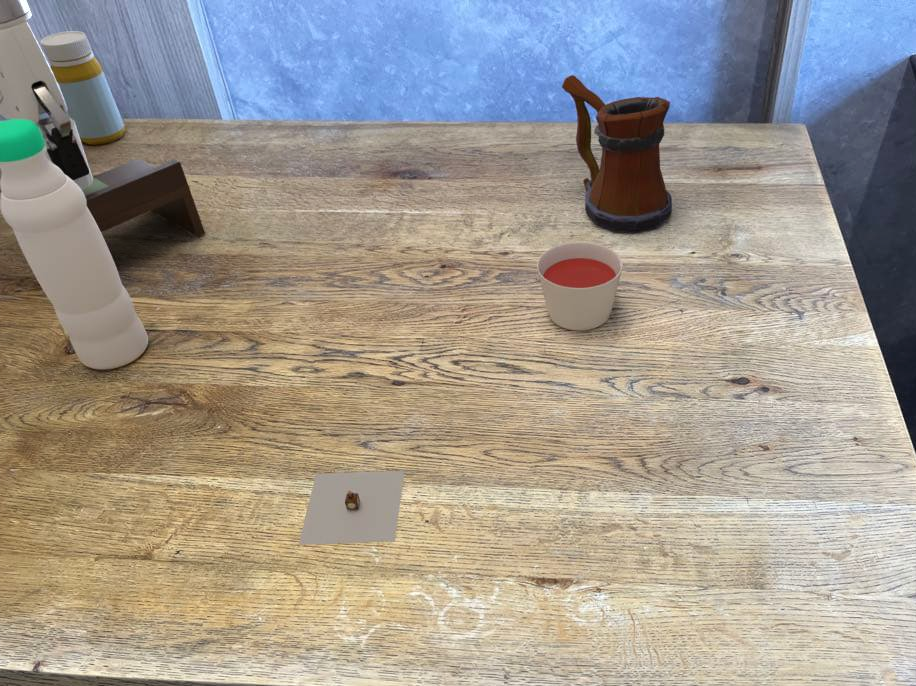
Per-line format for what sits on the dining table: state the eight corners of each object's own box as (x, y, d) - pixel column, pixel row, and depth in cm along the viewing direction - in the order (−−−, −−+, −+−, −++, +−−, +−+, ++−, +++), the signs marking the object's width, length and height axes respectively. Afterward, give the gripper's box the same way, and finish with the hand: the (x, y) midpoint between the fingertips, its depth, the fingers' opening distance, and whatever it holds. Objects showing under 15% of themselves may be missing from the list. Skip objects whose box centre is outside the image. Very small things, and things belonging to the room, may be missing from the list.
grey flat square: (404, 470, 73) (401, 456, 72) (394, 541, 68) (391, 526, 66) (316, 473, 73) (311, 459, 72) (298, 544, 68) (292, 530, 66)
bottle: (134, 135, 129) (96, 36, 119) (91, 150, 126) (48, 49, 116) (114, 123, 133) (76, 26, 123) (72, 137, 129) (29, 39, 119)
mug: (535, 192, 111) (531, 81, 101) (600, 166, 116) (601, 58, 106) (624, 245, 100) (629, 126, 90) (691, 214, 105) (703, 99, 95)
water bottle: (73, 376, 85) (-53, 148, 68) (90, 336, 90) (-23, 114, 73) (143, 368, 85) (36, 139, 69) (156, 328, 91) (59, 106, 74)
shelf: (41, 256, 103) (4, 183, 96) (156, 206, 112) (129, 136, 105) (88, 289, 97) (51, 214, 90) (205, 234, 106) (180, 161, 99)
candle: (530, 297, 93) (527, 249, 88) (605, 284, 94) (607, 236, 90) (550, 344, 86) (549, 294, 82) (631, 329, 88) (634, 280, 83)
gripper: (-86, 1, 86) (-4, 161, 98) (-16, 32, 77) (64, 203, 89) (-13, -17, 90) (57, 139, 102) (61, 11, 81) (128, 177, 93)
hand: (60, 167), depth 95 cm, fingers closed on shot glass, 6 cm apart
